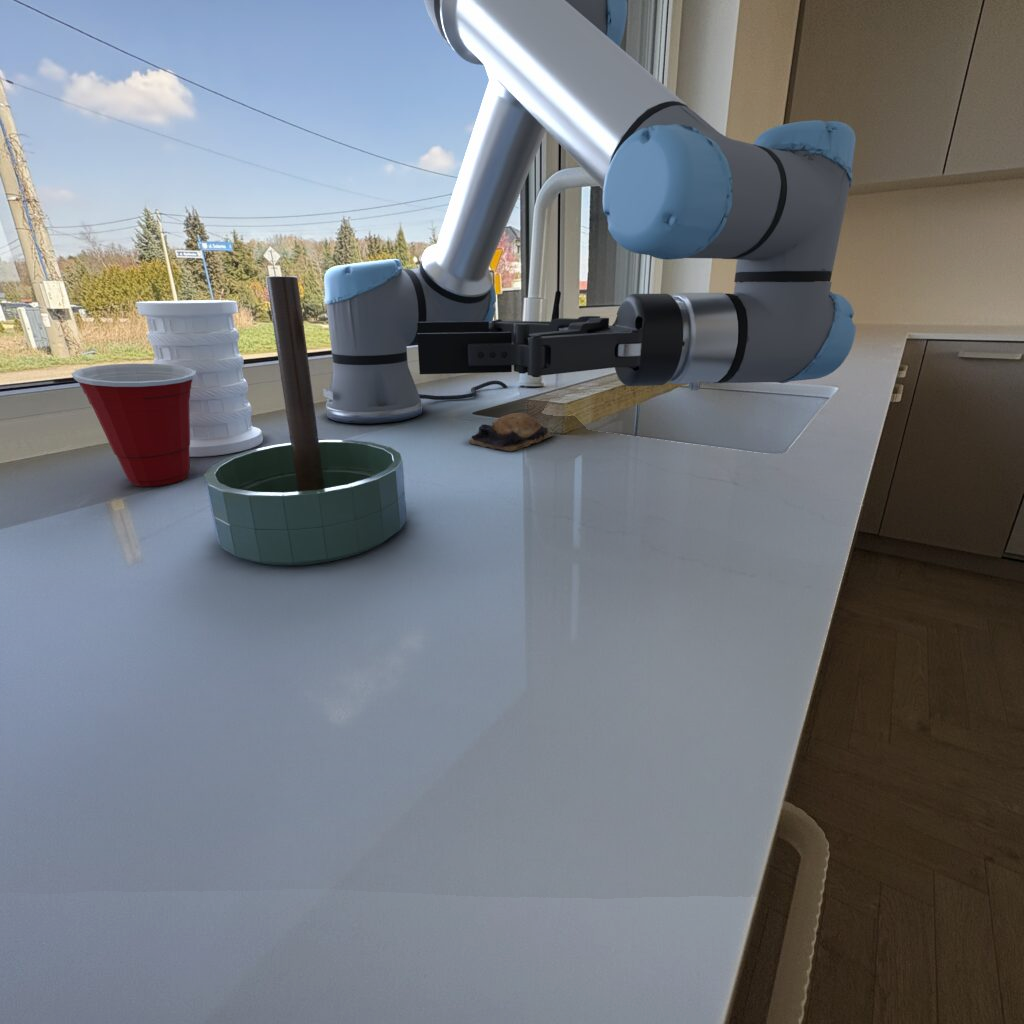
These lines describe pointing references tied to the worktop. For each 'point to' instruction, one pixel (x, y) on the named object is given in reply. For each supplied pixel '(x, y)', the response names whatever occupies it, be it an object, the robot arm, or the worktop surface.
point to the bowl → (306, 503)
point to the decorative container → (206, 370)
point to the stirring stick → (296, 380)
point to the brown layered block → (511, 432)
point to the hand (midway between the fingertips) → (417, 344)
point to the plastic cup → (143, 417)
